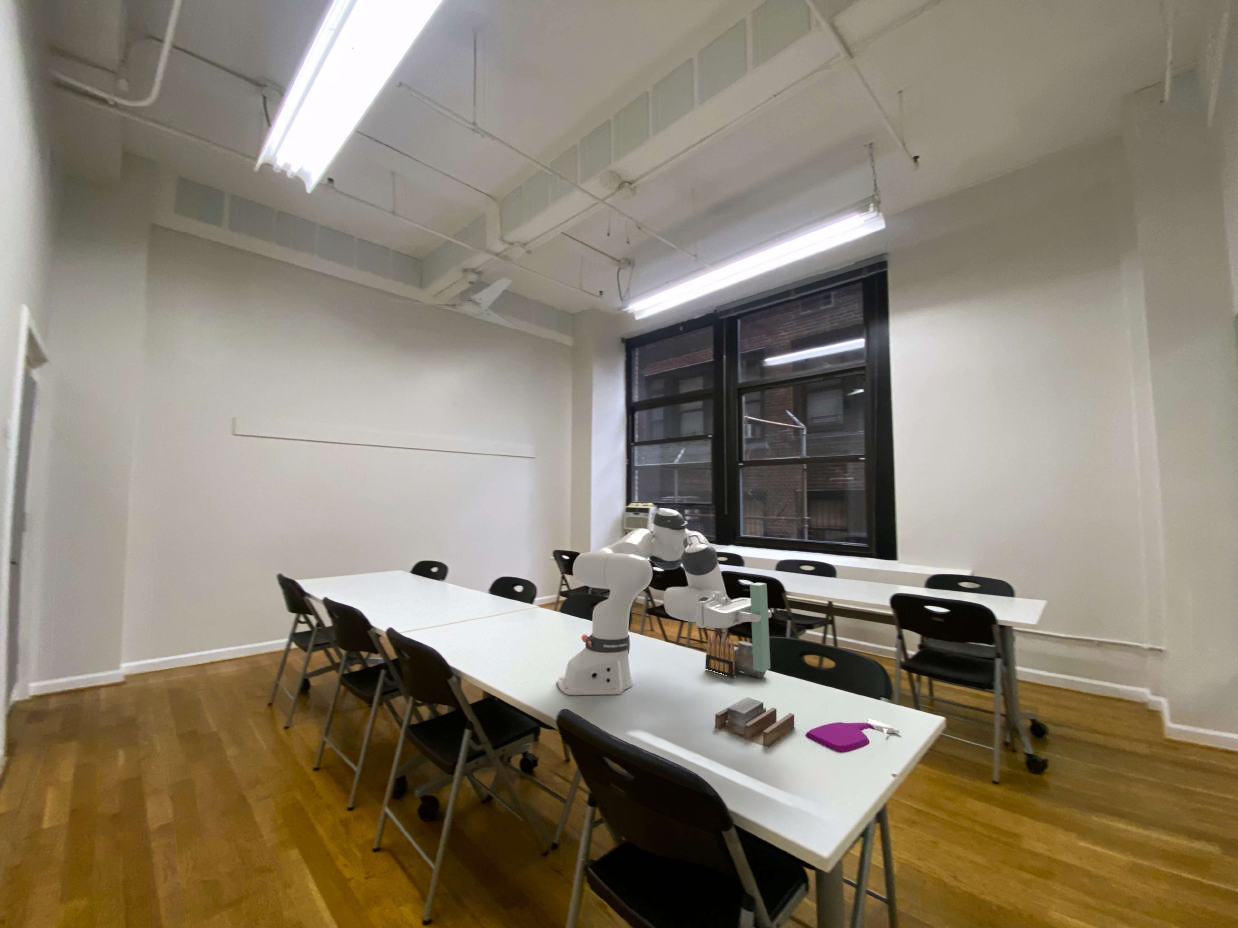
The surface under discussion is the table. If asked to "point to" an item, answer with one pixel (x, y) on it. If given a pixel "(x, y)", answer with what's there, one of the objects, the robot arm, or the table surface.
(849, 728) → the spray bottle
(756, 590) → the tall board
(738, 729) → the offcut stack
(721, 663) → the ammunition clip
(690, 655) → the table surface
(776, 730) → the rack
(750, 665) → the pipe fitting
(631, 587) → the robot arm
